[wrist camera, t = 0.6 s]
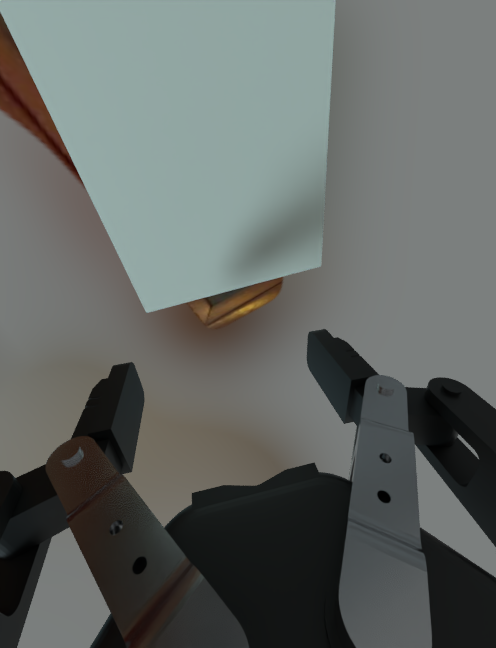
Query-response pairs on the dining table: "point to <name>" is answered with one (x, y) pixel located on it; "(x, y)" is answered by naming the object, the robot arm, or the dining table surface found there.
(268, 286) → the dining table surface
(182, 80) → the desk
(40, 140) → the dining table surface
